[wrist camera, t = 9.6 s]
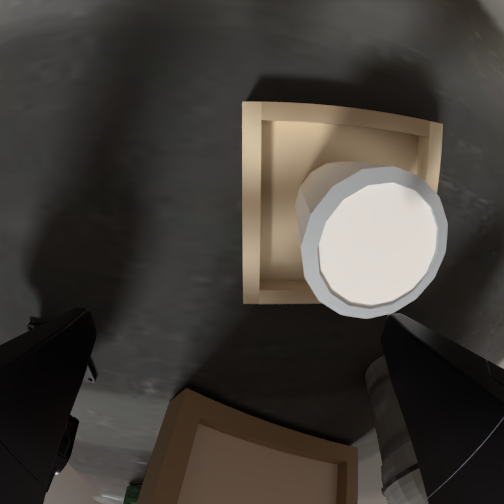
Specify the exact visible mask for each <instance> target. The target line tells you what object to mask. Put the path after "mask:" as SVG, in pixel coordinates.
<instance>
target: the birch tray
mask: <svg viewBox="0 0 504 504" xmlns="http://www.w3.org/2000/svg"><path fill="white" fill-rule="evenodd" d="M442 132H443V124H440V123H436V122H432V121H427V120H422V119H418V118H413V117H408V116H403V115H397V114H391V113H385V112H379V111H372V110H365V109H358V108H350V107H341V106H331V105H320V104H306V103H288V102H242V226H243V304H320V303H321V302H320V301H319V300H318V299H317V297H316V296H315V294H314V292H313V291H312V289H311V287H310V286H309V284H308V283H307V281H306V279H305V278H304V270H303V262H302V254H301V246H300V238H299V231H298V223H297V216H296V208H295V202H296V199H297V195H298V191H299V187H300V186H301V184H302V183H303V182H304V180H305V179H306V178H307V177H308V175H309V174H310V173H311V172H312V171H314V170H316V169H317V168H319V167H321V166H323V165H324V164H326V163H333V162H342V161H348V162H359V163H370V164H380V165H389V166H395V167H398V168H400V169H403V170H406V171H408V172H411V173H413V174H416V175H418V176H421V177H422V178H423V179H424V180H425V182H426V183H427V184H428V185H429V186H430V187H431V188H432V189H433V190H434V192H435V193H436V194H437V189H438V180H439V171H440V161H441V149H442Z"/></svg>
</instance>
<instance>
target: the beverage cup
mask: <svg viewBox="0 0 504 504" xmlns="http://www.w3.org/2000/svg"><path fill="white" fill-rule="evenodd" d="M365 380H366V384H367V392H368V396H369V400H370V405H371V409H372V414H373V418H374V423H375V428H376V433H377V438H378V443H379V448H380V453H381V459H382V466H381V472H382V483H383V488H382V489H381V490H382V493H383V495H384V496H385V497H386V500H387V502H388V504H428V500H427V499H428V498H427V496H426V492H425V488H424V484H423V480H422V477H421V473H420V469H419V466H418V463H417V459H416V456H415V452H414V449H413V446H412V443H411V439H410V436H409V433H408V430H407V427H406V424H405V421H404V418H403V415H402V412H401V409H400V406H399V403H398V400H397V398H396V395H395V392H394V389H393V386H392V383H391V380H390V376H389V372H388V368H387V364H386V360H385V356H381V357H380V358H378V359H377V360H375V361H374V362H373V363H372V364H371V365H370V366H369V367H368V369H367V371H366V374H365Z"/></svg>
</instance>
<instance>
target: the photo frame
mask: <svg viewBox="0 0 504 504" xmlns="http://www.w3.org/2000/svg"><path fill="white" fill-rule="evenodd" d="M357 500H358V448H356V447H352V446H348V445H344V444H340V443H336V442H332V441H328V440H324V439H321V438H317V437H314V436H310V435H307V434H304V433H300V432H297V431H294V430H291V429H288V428H285V427H282V426H279V425H276V424H273V423H270V422H267V421H265V420H262V419H259V418H256V417H254V416H251V415H248V414H246V413H243V412H241V411H238V410H236V409H233V408H231V407H228V406H226V405H224V404H221V403H219V402H217V401H214V400H212V399H210V398H207V397H205V396H203V395H201V394H199V393H196V392H194V391H192V390H190V389H188V388H186V389H185V390H184V391H182V392H181V393H180V394H179V395H177V396H176V397H175V398H174V399H172V400H171V401H170V402H169V405H168V408H167V411H166V414H165V417H164V420H163V423H162V426H161V429H160V432H159V435H158V438H157V441H156V444H155V447H154V450H153V453H152V456H151V459H150V462H149V465H148V468H147V472H146V475H145V478H144V481H143V484H142V487H141V491H140V494H139V497H138V500H137V503H136V504H357Z"/></svg>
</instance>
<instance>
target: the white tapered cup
mask: <svg viewBox="0 0 504 504" xmlns="http://www.w3.org/2000/svg"><path fill="white" fill-rule="evenodd" d="M295 208H296V216H297V223H298V231H299V238H300V246H301V254H302V262H303V270H304V278H305V279H306V281H307V283H308V284H309V286H310V287H311V289H312V291H313V292H314V294H315V296H316V297H317V299H318V300H319V301H320V302H321V303H323V304H324V305H326V306H327V307H329V308H331V309H332V310H334V311H335V312H337V313H338V314H340V315H344V316H350V317H357V318H363V319H369V318H373V317H378V316H383V315H387V314H392V313H394V312H396V311H397V310H399V309H401V308H402V307H404V306H406V305H407V304H409V303H411V302H412V301H414V300H415V299H417V298H418V296H419V295H420V294H421V293H422V292H423V291H424V290H425V288H426V287H427V286H428V285H429V284H430V283H431V282H432V280H433V279H434V278H435V276H436V274H437V271H438V269H439V267H440V264H441V262H442V260H443V257H444V255H445V252H446V243H447V229H448V223H447V219H446V216H445V213H444V210H443V206H442V203H441V200H440V197H439V196H438V195H437V194H436V193H435V192H434V190H433V189H432V188H431V187H430V186H429V185H428V184H427V183H426V182H425V180H424V179H423V178H422V177H421V176H418V175H416V174H413V173H411V172H408V171H406V170H403V169H400V168H398V167H395V166H389V165H380V164H370V163H359V162H348V161H342V162H333V163H326V164H324V165H323V166H321V167H319V168H317V169H316V170H314V171H312V172H311V173H310V174H309V175H308V177H307V178H306V179H305V180H304V182H303V183H302V184H301V186H300V187H299V191H298V195H297V199H296V202H295Z"/></svg>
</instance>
